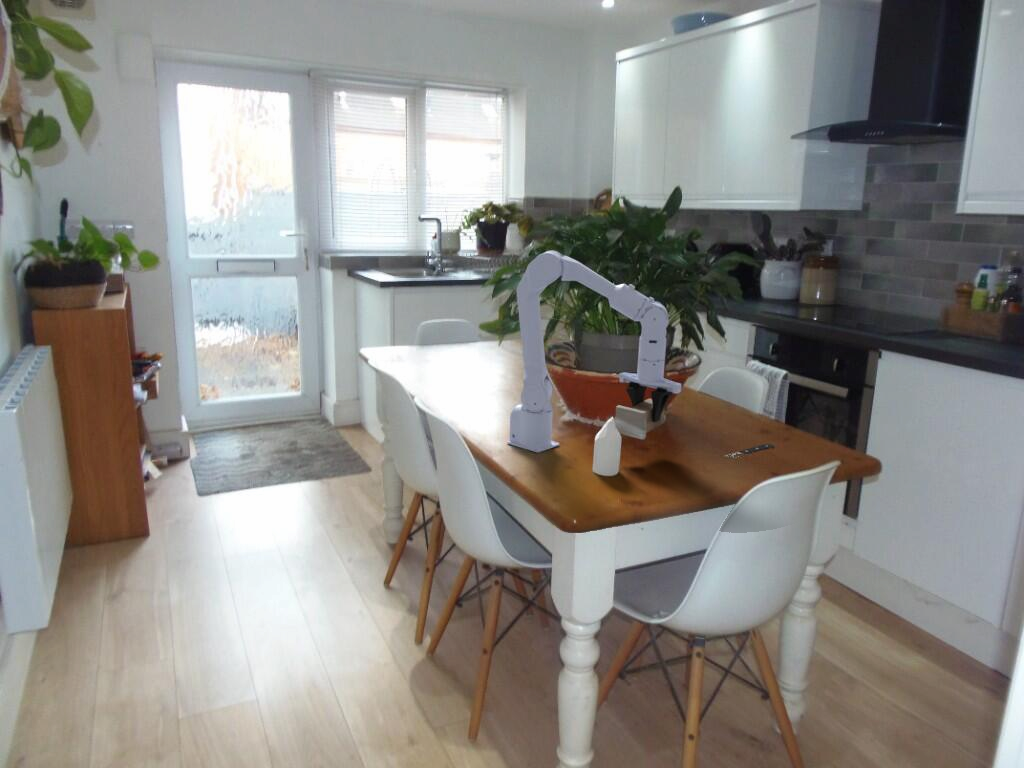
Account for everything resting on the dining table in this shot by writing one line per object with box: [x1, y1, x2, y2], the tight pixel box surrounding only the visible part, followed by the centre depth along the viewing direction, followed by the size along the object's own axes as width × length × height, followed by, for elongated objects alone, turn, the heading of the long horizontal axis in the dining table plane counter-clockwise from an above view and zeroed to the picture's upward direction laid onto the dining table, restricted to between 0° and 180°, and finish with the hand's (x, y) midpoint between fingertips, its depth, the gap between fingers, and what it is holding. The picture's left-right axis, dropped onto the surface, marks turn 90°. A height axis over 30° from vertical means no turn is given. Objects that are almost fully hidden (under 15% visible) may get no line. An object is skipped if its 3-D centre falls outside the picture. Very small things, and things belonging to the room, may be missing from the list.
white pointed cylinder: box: [592, 416, 622, 477], centre depth 155 cm, size 6×12×6 cm
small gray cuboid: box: [615, 397, 666, 440], centre depth 164 cm, size 11×7×6 cm, turn 138°
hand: (647, 418), depth 166 cm, fingers closed on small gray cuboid, 4 cm apart
